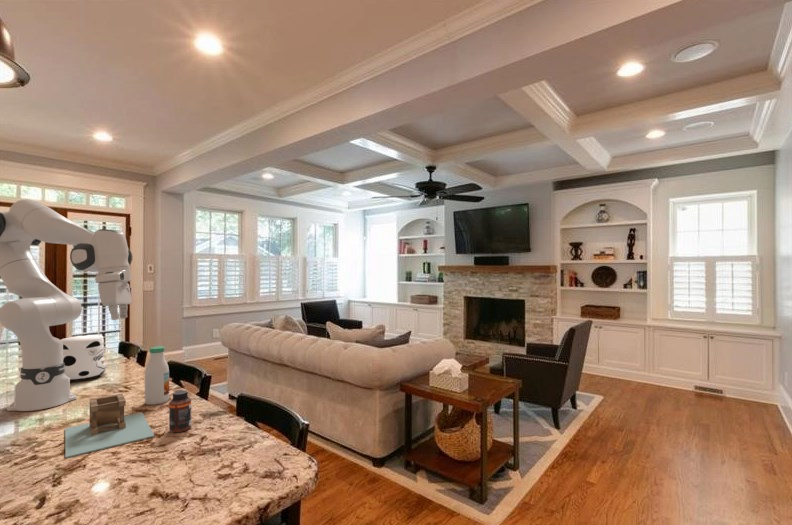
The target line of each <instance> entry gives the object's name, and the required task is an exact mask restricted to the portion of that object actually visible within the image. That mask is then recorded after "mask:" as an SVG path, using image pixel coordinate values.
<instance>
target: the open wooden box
mask: <svg viewBox="0 0 792 525" xmlns="http://www.w3.org/2000/svg"><path fill="white" fill-rule="evenodd" d="M126 401H127V400H126V398H125V396H124V394H123V393H116V394H112V395H106V396H99V397H95V398H89V423H90V432H91V436H92V435H96V434H98V432H102V431H106V430H111V429H115V428H119V429H123V428H126V422H125V420H124V416H125V406H126V405H127V404H126ZM116 422H117V424H113V425H109V426H104V427H99V428H98V427H97V426H102V425H106V424H111V423H116Z"/></svg>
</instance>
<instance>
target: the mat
mask: <svg viewBox="0 0 792 525" xmlns="http://www.w3.org/2000/svg"><path fill="white" fill-rule="evenodd" d="M124 420H125V422H126V428H123V429H119V428H115V429H111V430H106V431H102V432H98V434H96V435H92V436H91V432H90V422H88V423H84V424H79V425H73V426H69V427H65V429H64V438H65V439H64V445H65V447H64V448H65V449H64V450H65V454H64V456H65V459H69V458H73V457H77V456H81V455H86V454H89V453H90V454H91V453H94V452H98V451H101V450H105V449H110V448H114V447H119V446H121V445H126V444H130V443H135V442H138V441H144V440H146V439H150V438H151V439H152V438H154V437H156V436H155V433H154V431H153V430H152V428H151V426H150V424H149V423H148V421H147V419H146V417H145V415H144V413H143V412H136V413H133V414H127V415H124ZM113 424H117V422H116V423H111V424H106V425H102V426H97V427H98V428H99V427H104V426H109V425H113Z"/></svg>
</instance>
